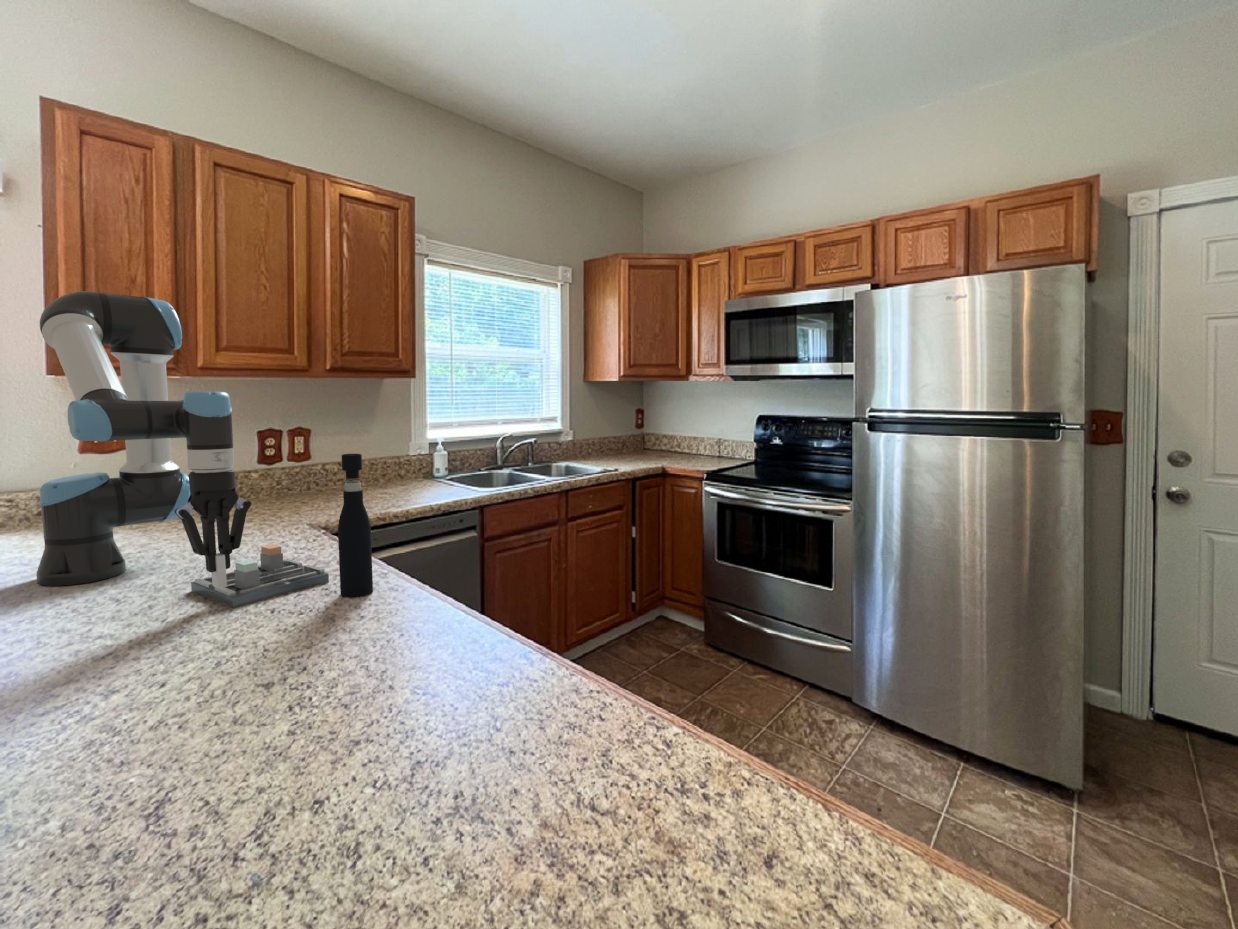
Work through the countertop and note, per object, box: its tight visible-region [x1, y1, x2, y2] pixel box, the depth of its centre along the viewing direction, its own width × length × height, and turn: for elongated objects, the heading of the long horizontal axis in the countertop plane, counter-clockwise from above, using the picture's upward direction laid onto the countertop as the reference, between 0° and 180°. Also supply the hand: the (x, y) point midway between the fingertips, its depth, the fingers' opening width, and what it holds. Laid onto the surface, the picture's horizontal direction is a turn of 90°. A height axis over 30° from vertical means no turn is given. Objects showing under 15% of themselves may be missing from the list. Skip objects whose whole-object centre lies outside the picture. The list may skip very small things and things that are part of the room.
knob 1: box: [233, 559, 260, 589], centre depth 122 cm, size 4×3×5 cm
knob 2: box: [259, 544, 284, 571], centre depth 135 cm, size 4×3×5 cm
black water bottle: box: [337, 453, 374, 599], centre depth 124 cm, size 6×6×30 cm
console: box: [190, 558, 330, 609], centre depth 129 cm, size 18×20×3 cm
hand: (219, 586), depth 117 cm, fingers closed
